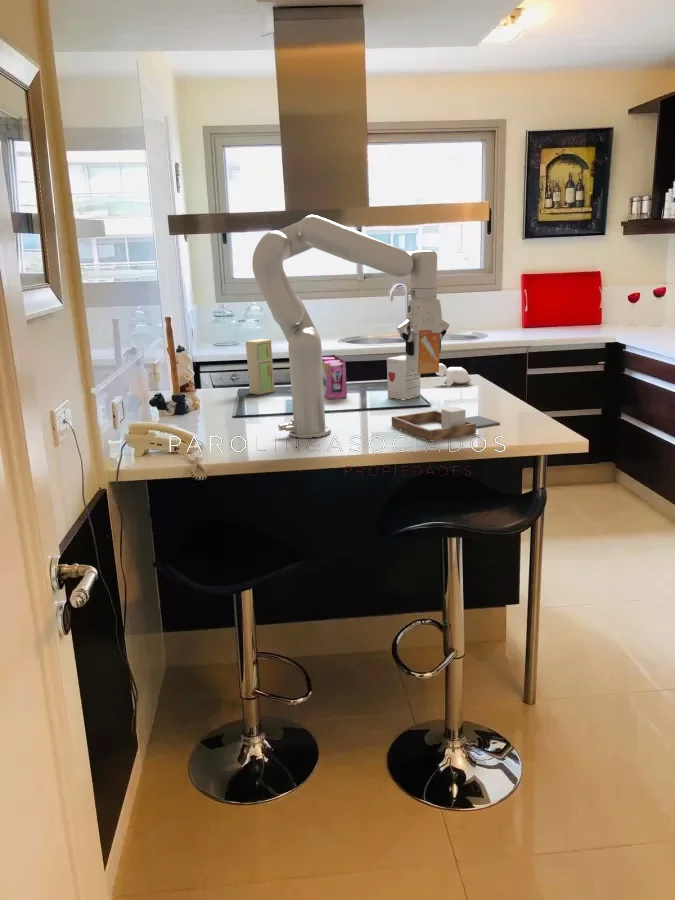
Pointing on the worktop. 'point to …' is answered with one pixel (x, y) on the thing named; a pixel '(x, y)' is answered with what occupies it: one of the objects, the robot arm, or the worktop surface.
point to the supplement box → (401, 379)
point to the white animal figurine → (453, 375)
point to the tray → (407, 425)
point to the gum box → (334, 377)
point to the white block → (453, 417)
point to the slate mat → (482, 421)
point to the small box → (424, 353)
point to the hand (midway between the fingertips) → (423, 353)
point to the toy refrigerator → (260, 366)
